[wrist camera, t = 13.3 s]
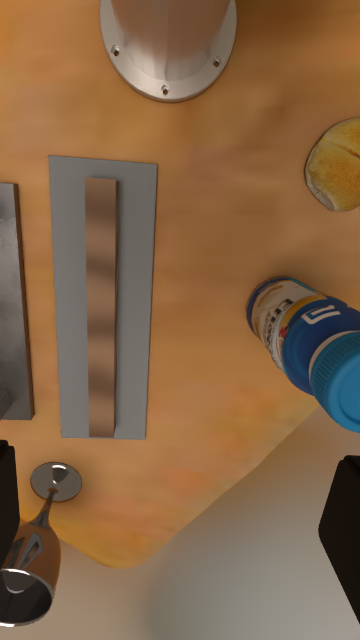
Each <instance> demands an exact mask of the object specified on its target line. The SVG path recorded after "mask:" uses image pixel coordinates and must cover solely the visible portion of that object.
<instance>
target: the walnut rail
mask: <svg viewBox="0 0 360 640" xmlns="http://www.w3.org/2000/svg"><path fill="white" fill-rule="evenodd" d="M118 204H119V181H117V180H114V179H101V178H88V177H85V225H86V283H87V341H88V398H89V437H101V438H114V433H115V428H116V381H117V292H118Z"/></svg>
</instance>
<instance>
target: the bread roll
mask: <svg viewBox="0 0 360 640" xmlns="http://www.w3.org/2000/svg"><path fill="white" fill-rule="evenodd" d="M305 176H306V182H307V186H308V187H309V189H310V190H311V191H312V193H313V194H314V196H315V197H316V198H317V199H318V200H319V201H320V202H321V203H323V204H324V205H325V206H326V207H327V208H328V209H330V210H332V211H336V210H342V211H349V210H352V209H355V208H357V207H358V206H360V117H359V118H352V119H348V120H345V121H343V122H341V123H338V124H337V125H335V126H333V127H332V128H330V129H329V130H328V131H327V132H326V133H325V134H324V135H323V136H322V138H321V139H320V141H319V142H318V143H317V144H316V145H315V147H314V148H313V150H312V151H311V153H310V156H309V158H308V161H307V165H306V169H305Z"/></svg>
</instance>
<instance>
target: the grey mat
mask: <svg viewBox="0 0 360 640" xmlns="http://www.w3.org/2000/svg"><path fill="white" fill-rule="evenodd" d="M49 177H50V198H51V220H52V242H53V264H54V285H55V307H56V329H57V351H58V373H59V394H60V416H61V438H92V439H133V440H145V429H146V406H147V383H148V361H149V338H150V315H151V293H152V270H153V247H154V225H155V202H156V179H157V164H149V163H137V162H125V161H112V160H100V159H88V158H76V157H64V156H52V155H49ZM85 177H88V178H101V179H114V180H117V181H119V204H118V292H117V381H116V428H115V433H114V438H101V437H89V398H88V341H87V283H86V225H85Z"/></svg>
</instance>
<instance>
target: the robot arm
mask: <svg viewBox="0 0 360 640" xmlns="http://www.w3.org/2000/svg"><path fill="white" fill-rule="evenodd" d="M99 19H100V30H101V34H102V38H103V42H104V46H105V49H106V51H107V54H108V57H109V59H110V60H111V62H112V64H113V66H114V68H115V70H116V71H117V72H118V74H119V75H120V76H121V78H122V79H123V80H124V81H125V82H126V83H127V84H128V85H129V86H130V87H131V88H132V89H133V90H135V91H136V92H138V93H140V94H141V95H143V96H144V97H147V98H150V99H152V100H155V101H160V102H167V103H171V102H181V101H184V100H188V99H191V98H193V97H195V96H197V95H199V94H200V93H202V92H203V91H205V90H206V89H207V88H208V87H209V86H211V85H212V84H213V82H214V81H215V80H216V79H217V78H218V76H219V75H220V74H221V72H222V70H223V68H224V67H225V65H226V63H227V61H228V58H229V56H230V53H231V51H232V47H233V44H234V40H235V35H236V25H237V12H236V2H235V0H100V7H99ZM116 52H118V53H119V56H114V54H115V53H116ZM215 62H216V63H218V67H216V66H214V63H215ZM165 90H166V91H167V92H168V94H167V95H164V94H163V91H165ZM19 522H20V514H19V501H18V488H17V475H16V462H15V450H14V447H13V446H9V445H8V442H7V440H0V571H1V568H2V566H3V564H4V561H5V559H6V557H7V555H8V552H9V550H10V548H11V545H12V543H13V541H14V539H15V536H16V534H17V531H18V528H19ZM318 532H319V537H320V540H321V543H322V544H323V547H324V549H325V551H326V553H327V555H328V558H329V560H330V562H331V564H332V566H333V568H334V570H335V572H336V575H337V577H338V579H339V581H340V583H341V585H342V587H343V590H344V592H345V594H346V596H347V598H348V600H349V602H350V604H351V607H352V609H353V611H354V613H355V615H356V617H357V619H358V621H359V624H360V456H353V455H347V456H345V457H344V459H343V460H341V461H340V462H339V463H338V466H337V469H336V472H335V476H334V479H333V482H332V485H331V488H330V492H329V495H328V498H327V501H326V505H325V508H324V511H323V514H322V517H321V520H320V524H319V528H318Z"/></svg>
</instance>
